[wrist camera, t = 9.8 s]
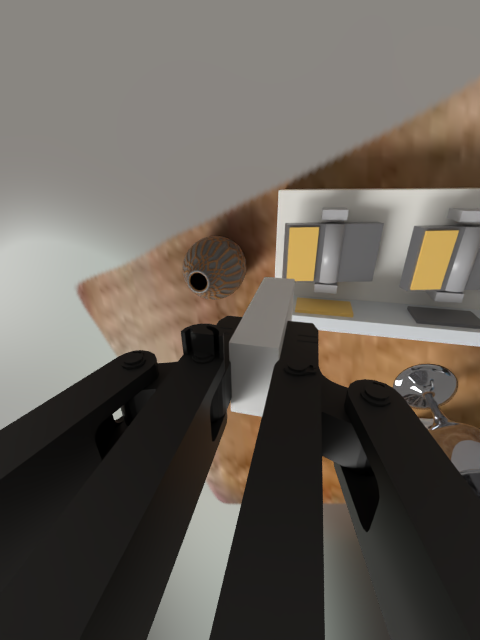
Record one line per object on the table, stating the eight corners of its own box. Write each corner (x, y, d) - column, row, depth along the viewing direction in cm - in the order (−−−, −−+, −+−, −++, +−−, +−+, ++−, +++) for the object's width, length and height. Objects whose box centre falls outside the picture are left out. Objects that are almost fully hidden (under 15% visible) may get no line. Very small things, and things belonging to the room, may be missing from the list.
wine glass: (420, 350, 34) (484, 456, 21) (478, 382, 34) (578, 510, 21) (376, 391, 38) (406, 503, 25) (427, 421, 38) (485, 548, 25)
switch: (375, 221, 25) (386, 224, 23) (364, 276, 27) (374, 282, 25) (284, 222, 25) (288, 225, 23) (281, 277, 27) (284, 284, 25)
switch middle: (509, 223, 22) (533, 226, 21) (485, 283, 25) (505, 290, 23) (411, 224, 22) (427, 228, 20) (396, 285, 24) (409, 293, 23)
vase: (237, 222, 33) (212, 234, 25) (260, 276, 35) (243, 302, 27) (189, 244, 35) (153, 261, 28) (213, 293, 37) (185, 322, 30)
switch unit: (652, 186, 23) (854, 189, 14) (580, 310, 28) (698, 369, 19) (284, 189, 30) (270, 192, 21) (279, 288, 35) (266, 324, 26)
